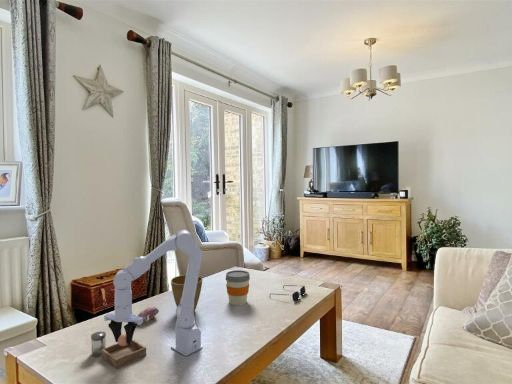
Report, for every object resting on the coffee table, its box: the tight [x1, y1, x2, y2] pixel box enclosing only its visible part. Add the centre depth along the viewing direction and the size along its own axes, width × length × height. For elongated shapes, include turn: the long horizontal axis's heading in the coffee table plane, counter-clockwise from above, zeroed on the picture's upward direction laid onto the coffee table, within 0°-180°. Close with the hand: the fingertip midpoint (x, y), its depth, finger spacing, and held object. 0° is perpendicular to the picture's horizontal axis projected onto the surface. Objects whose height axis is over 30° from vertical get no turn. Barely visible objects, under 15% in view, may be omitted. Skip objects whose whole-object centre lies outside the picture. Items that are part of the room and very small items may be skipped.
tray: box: [101, 338, 147, 369], centre depth 115 cm, size 11×11×3 cm
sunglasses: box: [268, 284, 306, 302], centre depth 176 cm, size 17×15×5 cm
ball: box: [117, 333, 127, 346], centre depth 115 cm, size 4×4×4 cm
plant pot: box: [170, 274, 203, 313], centre depth 154 cm, size 15×15×16 cm
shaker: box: [90, 331, 107, 358], centre depth 117 cm, size 5×5×7 cm
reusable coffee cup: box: [225, 269, 251, 306], centre depth 166 cm, size 13×12×15 cm
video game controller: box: [137, 306, 160, 323], centre depth 145 cm, size 10×5×7 cm, turn 143°
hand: (123, 341), depth 115 cm, fingers closed on ball, 4 cm apart
